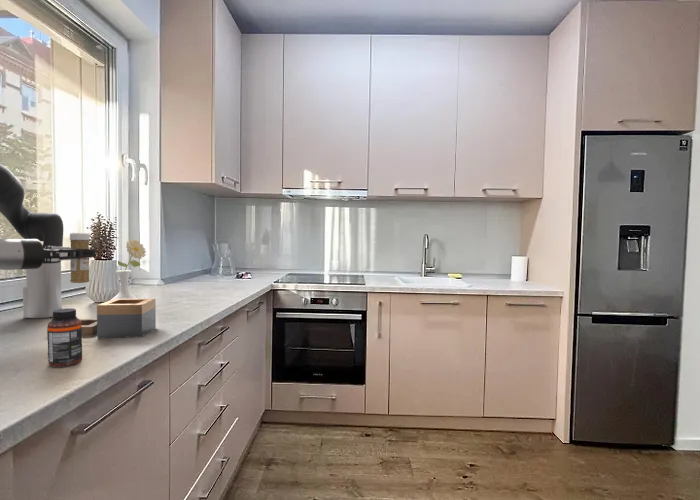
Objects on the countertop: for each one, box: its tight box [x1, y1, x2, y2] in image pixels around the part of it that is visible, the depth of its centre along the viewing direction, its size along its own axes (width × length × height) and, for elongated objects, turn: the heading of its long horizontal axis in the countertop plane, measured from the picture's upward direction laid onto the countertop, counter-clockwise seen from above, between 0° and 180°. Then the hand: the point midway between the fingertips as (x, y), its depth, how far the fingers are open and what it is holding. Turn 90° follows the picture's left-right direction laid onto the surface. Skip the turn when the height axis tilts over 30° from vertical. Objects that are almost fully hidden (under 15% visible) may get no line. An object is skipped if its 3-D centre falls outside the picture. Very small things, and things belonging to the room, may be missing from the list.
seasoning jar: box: [69, 232, 91, 284], centre depth 116 cm, size 5×5×14 cm
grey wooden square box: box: [96, 297, 157, 339], centre depth 117 cm, size 11×11×8 cm
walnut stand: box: [46, 318, 97, 338], centre depth 117 cm, size 11×11×2 cm
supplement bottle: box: [46, 307, 83, 368], centre depth 89 cm, size 6×6×11 cm
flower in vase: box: [110, 238, 147, 300], centre depth 151 cm, size 13×11×25 cm
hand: (90, 252), depth 119 cm, fingers closed on seasoning jar, 4 cm apart
